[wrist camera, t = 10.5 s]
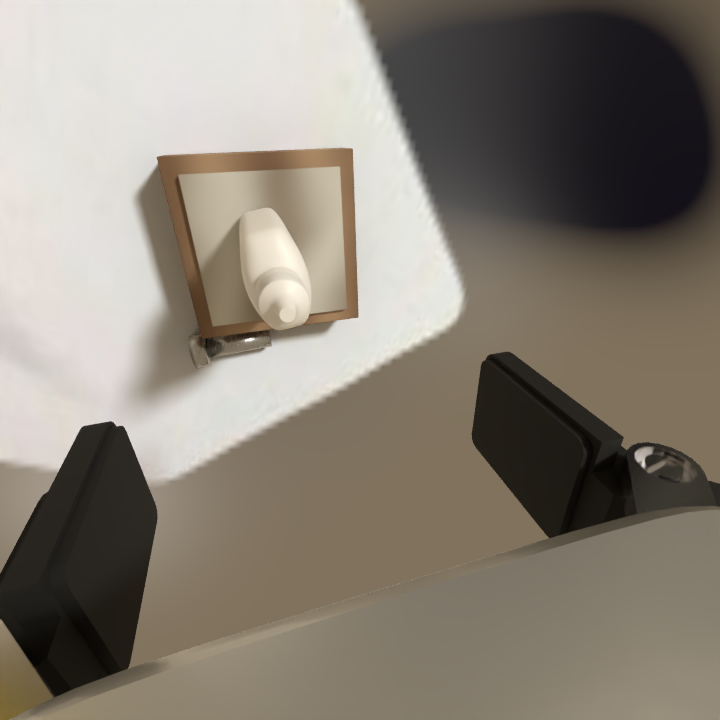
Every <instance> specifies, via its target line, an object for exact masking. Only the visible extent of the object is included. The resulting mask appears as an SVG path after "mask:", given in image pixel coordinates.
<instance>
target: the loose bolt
mask: <svg viewBox="0 0 720 720" xmlns="http://www.w3.org/2000/svg"><path fill="white" fill-rule="evenodd" d="M270 346H272V344H271V339H270V335H269V330H262V331H254V332H247V333H240V334H232V335H225V336H218V337H212V338H207V339H206V338H203V339H202V338H201V334H199V335H193V336H189V348H190V353H191V357H192V360H193V363H194V365H195V367H196V368H201V367H206V366H211V358H213V357H218V356H224V355H229V354H234V353H239V352H244V351H249V350H254V349H259V348H264V347H270Z"/></svg>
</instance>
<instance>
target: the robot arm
mask: <svg viewBox="0 0 720 720" xmlns="http://www.w3.org/2000/svg"><path fill="white" fill-rule="evenodd" d="M623 438H624V437H623V436H621V435H620V434H619V433H617V432H616V431H615V430H613V429H612V428H611V427H609V426H608V425H607V424H605V423H604V422H603V421H601V420H600V419H599V418H597V417H596V416H595V415H593V414H592V413H591V412H589V411H588V410H587V409H585V408H584V407H583V406H581V405H580V404H579V403H577V402H576V401H575V400H573V399H572V398H571V397H569V396H568V395H567V394H565V393H564V392H563V391H562V390H560V389H559V388H558V387H556V386H555V385H553V384H552V383H551V382H550V381H548V380H547V379H546V378H544V377H543V376H541V375H540V374H539V373H538V372H536V371H535V370H533V369H532V368H531V367H530V366H528V365H527V364H526V363H524V362H523V361H522V360H520V359H519V358H518V357H516V356H515V355H514V354H512V353H510V352H502V353H496V354H491V355H489V356H487V358H486V360H485V361H483V362H482V365H481V370H480V378H479V385H478V393H477V400H476V407H475V415H474V422H473V430H472V440H473V443H474V445H475V447H476V448H477V449H478V451H479V452H480V453H481V454H482V456H483V457H484V458H485V459H486V460H487V462H488V463H489V464H490V466H491V467H492V468H493V469H494V470H495V472H496V473H497V474H498V475H499V477H500V478H501V479H502V480H503V482H504V483H505V484H506V485H507V487H508V488H509V489H510V490H511V492H512V493H513V494H514V495H515V497H516V498H517V499H518V500H519V502H520V503H521V504H522V505H523V507H524V508H525V509H526V510H527V512H528V513H529V514H530V515H531V517H532V518H533V519H534V520H535V522H536V523H537V524H538V525H539V527H540V528H541V529H542V530H543V531H544V533H545V534H546V535H547V536H548V537H549V539H546V540H542V541H539V542H536V543H532V544H529V545H526V546H522V547H519V548H516V549H512V550H509V551H505V552H503V553H499V554H496V555H492V556H489V557H485V558H482V559H479V560H475V561H472V562H469V563H465V564H462V565H459V566H455V567H452V568H449V569H446V570H442V571H439V572H436V573H432V574H429V575H426V576H422V577H419V578H416V579H413V580H410V581H406V582H403V583H400V584H397V585H393V586H390V587H386V588H383V589H380V590H376V591H373V592H370V593H367V594H363V595H360V596H357V597H354V598H350V599H347V600H344V601H340V602H337V603H334V604H331V605H327V606H324V607H321V608H318V609H315V610H312V611H308V612H305V613H302V614H298V615H295V616H292V617H289V618H286V619H282V620H279V621H276V622H273V623H269V624H266V625H263V626H260V627H256V628H253V629H250V630H247V631H244V632H240V633H237V634H234V635H231V636H227V637H224V638H221V639H218V640H215V641H212V642H209V643H206V644H203V645H199V646H197V647H193V648H190V649H187V650H184V651H181V652H178V653H175V654H172V655H169V656H166V657H163V658H160V659H157V660H154V661H151V662H147V663H144V664H141V665H138V666H135V667H132V668H129V669H128V667H129V664H130V660H131V655H132V650H133V644H134V639H135V634H136V629H137V624H138V619H139V613H140V608H141V603H142V597H143V592H144V587H145V582H146V577H147V571H148V566H149V560H150V555H151V550H152V545H153V539H154V535H155V529H156V524H157V509H156V505H155V502H154V500H153V497H152V495H151V492H150V490H149V487H148V485H147V482H146V480H145V477H144V475H143V472H142V470H141V467H140V465H139V462H138V460H137V457H136V455H135V452H134V450H133V447H132V445H131V442H130V440H129V437H128V435H127V432H126V430H125V428H124V427H123V426H117V427H116V425H115V424H114V423H113V422H111V421H110V422H104V423H99V424H93V425H87V426H84V427H82V428H81V429H80V431H79V433H78V435H77V437H76V439H75V441H74V443H73V445H72V447H71V449H70V451H69V452H68V454H67V456H66V458H65V460H64V462H63V464H62V466H61V468H60V470H59V472H58V474H57V476H56V478H55V480H54V482H53V483H52V485H51V487H50V489H49V491H48V492H47V493H45V494H44V495H43V496H42V497H41V499H40V500H39V502H38V503H37V506H36V507H35V509H34V511H33V513H32V515H31V517H30V519H29V520H28V522H27V524H26V526H25V528H24V530H23V532H22V534H21V536H20V538H19V539H18V541H17V543H16V545H15V547H14V549H13V551H12V553H11V554H10V556H9V558H8V560H7V562H6V564H5V566H4V568H3V570H2V572H1V573H0V720H720V484H718V483H715V482H711V481H708V480H707V477H706V475H705V472H704V471H703V469H702V468H701V466H700V465H699V464H698V463H696V461H694V460H693V459H692V458H691V457H689V456H687V455H686V454H684V453H683V452H681V451H678V450H676V449H674V448H672V447H669V446H665V445H662V444H658V443H650V442H642V443H636V444H633V445H631V446H630V447H629V449H627V450H626V449H624V448H623V447H622V446H621V443H622V441H623Z"/></svg>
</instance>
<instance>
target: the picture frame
mask: <svg viewBox="0 0 720 720" xmlns="http://www.w3.org/2000/svg"><path fill="white" fill-rule="evenodd" d="M157 160H158V164H159V168H160V172H161V176H162V180H163V184H164V188H165V192H166V196H167V200H168V204H169V208H170V213H171V217H172V221H173V225H174V229H175V233H176V237H177V241H178V245H179V249H180V253H181V257H182V261H183V265H184V269H185V273H186V277H187V281H188V285H189V289H190V293H191V297H192V301H193V305H194V309H195V313H196V317H197V321H198V325H199V329H200V334H201V338H202V339H203V338H210V337H217V336H225V335H232V334H240V333H247V332H254V331H262V330H269V329H273V328H272V327H270V326H269V325H268V324H267V323H266V322H265V321H264V320H263V319H262V318H261V316H260V315H259V314H258V312H257V311H256V309H255V308H254V306H253V304H252V303H251V301H250V298H249V296H248V294H247V291H246V288H245V285H244V281H243V276H242V270H241V260H240V240H239V224H240V218H241V216H242V215H243V214H244V213H246V212H249V211H253V210H257V209H261V208H271V209H273V210H274V211H275V212H276V213H277V214H278V216H279V217H280V218H281V220H282V221H283V223H284V225H285V226H286V228H287V230H288V232H289V233H290V235H291V237H292V239H293V240H294V242H295V244H296V246H297V247H298V249H299V251H300V253H301V255H302V257H303V260H304V262H305V265H306V267H307V270H308V274H309V278H310V284H311V308H310V313H309V317H308V319H307V320H306V322H305V323H303V324H302V325H306V324H313V323H321V322H328V321H336V320H343V319H350V318H358V290H357V261H356V232H355V203H354V174H353V149H349V148H330V149H305V150H281V151H256V152H232V153H207V154H183V155H163V156H159V157H157Z"/></svg>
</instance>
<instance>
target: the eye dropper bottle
mask: <svg viewBox="0 0 720 720" xmlns="http://www.w3.org/2000/svg"><path fill="white" fill-rule="evenodd" d="M239 240H240V260H241V270H242V276H243V281H244V285H245V288H246V291H247V294H248V296H249V298H250V301H251V303H252V304H253V306H254V308H255V309H256V311H257V312H258V314H259V315H260V316H261V318H262V319H263V320H264V321H265V322H266V323H267V324H268V325H269V326H270V327H272V328H273V329H275V330H286V329H289V328H293V327H296V326H299V325H302V324H303V323H305V322H306V320H307V319H308V317H309V313H310V308H311V284H310V278H309V274H308V270H307V267H306V265H305V262H304V260H303V257H302V255H301V253H300V251H299V249H298V247H297V246H296V244H295V242H294V240H293V239H292V237H291V235H290V233H289V232H288V230H287V228H286V226H285V225H284V223H283V221H282V220H281V218H280V217H279V216H278V214H277V213H276V212H275V211H274V210H273V209H271V208H261V209H257V210H253V211H249V212H246V213H244V214H243V215H242V216H241V218H240V224H239Z"/></svg>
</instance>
